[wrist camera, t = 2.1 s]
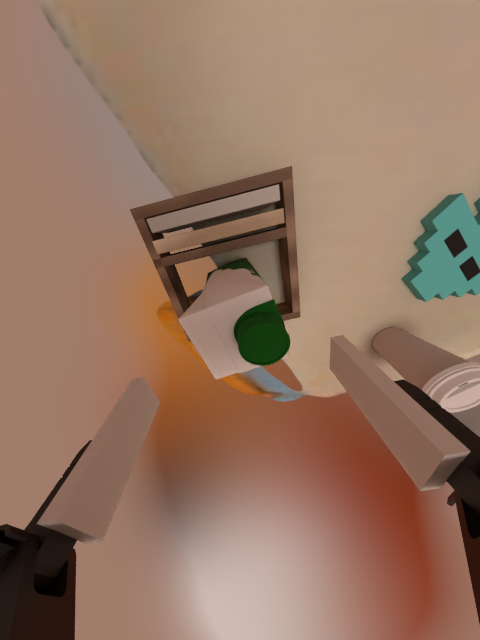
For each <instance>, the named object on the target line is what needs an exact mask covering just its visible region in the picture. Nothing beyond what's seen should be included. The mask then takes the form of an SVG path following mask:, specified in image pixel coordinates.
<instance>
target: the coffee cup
mask: <svg viewBox="0 0 480 640" xmlns="http://www.w3.org/2000/svg"><path fill="white" fill-rule="evenodd" d="M372 346H373V348H374V349H375V350H376V351H377V352H378V353H379V354H380V355H381V356H382V357H383V358H384V359H385V360H386V361H387V362H388V363H389V364H390V365H391V366H392V367H393V368H394V369H395V370H396V371H397V372H398V373H399V374H400V375H401V376H402V377H403V378H404V379H405V380H406V381H407V382H409V383H411V384H413V385H415V386H417V387H419V388H420V389H421V390H422V391H423V392H425V393H426V394H427V395H428V396H430V397H431V399H432V400H434V401H436V402H437V403H438V404H439V405H441V407H442V408H444V409H445V410H447V411H448V412H459V411H463V410H467V409H470V408H472V407H474V406H477V405H479V404H480V363H478V362H469V361H467V360H465V359H463V358H461V357H458V356H456V355H454V354H452V353H450V352H448V351H446V350H443V349H441V348H439V347H437V346H435V345H433V344H431V343H428V342H426V341H424V340H422V339H420V338H418V337H416V336H414V335H411V334H409V333H407V332H405V331H403V330H401V329H399V328H396V327H390V328H386V329H384V330H382V331H380V332H379V333H378V334H377V335H376V336H375V337H374V339H373V341H372Z"/></svg>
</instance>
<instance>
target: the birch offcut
mask: <svg viewBox="0 0 480 640" xmlns="http://www.w3.org/2000/svg"><path fill="white" fill-rule="evenodd" d="M281 223H285V221H284V209H283V208H281V209H277V210H273V211H270V212H266V213H262V214H258V215H254V216H250V217H246V218H242V219H238V220H234V221H230V222H226V223H223V224H219V225H215V226H211V227H207V228H203V229H199V230H195V231H191V232H187V233H183V234H180V235H175V236H172V237H168V238H164V239H160V240H156V241H152V242H153V245H154V247H155V249H156V252H157V254H161V253H165V252H169V251H173V250H177V249H181V248H185V247H189V246H193V245H197V244H201V243H205V242H209V241H213V240H217V239H221V238H225V237H229V236H233V235H237V234H241V233H245V232H249V231H253V230H257V229H261V228H265V227H269V226H273V225H277V224H281Z"/></svg>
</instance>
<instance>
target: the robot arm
mask: <svg viewBox="0 0 480 640" xmlns="http://www.w3.org/2000/svg"><path fill="white" fill-rule="evenodd" d="M330 369H331V371H332V372H333V373H334V375H335V376H336V377H337V379H338V380H339V381H340V383H341V384H342V386H343V387H344V388H345V390H346V391H347V392H348V393H349V395H350V396H351V398H352V399H353V400H354V402H355V403H356V404H357V406H358V407H359V408H360V410H361V411H362V412H363V414H364V415H365V417H366V418H367V419H368V421H369V422H370V423H371V425H372V426H373V427H374V429H375V430H376V431H377V433H378V434H379V435H380V437H381V438H382V440H383V441H384V442H385V444H386V445H387V446H388V448H389V449H390V450H391V452H392V453H393V454H394V456H395V457H396V459H397V460H398V461H399V463H400V464H401V465H402V467H403V468H404V469H405V471H406V472H407V473H408V475H409V476H410V477H411V479H412V480H413V481H414V483H415V484H416V486H417V487H418V488H419V490H420V491H424V490H430V489H436V488H441V487H442V486H443V485H444V484H445V482H446V481H447V482H448V483H449V484H450V485H451V486H452V488H453V489H454V492H453V493H452V494H451V495H450V496H449V497H448V501H447V504H448V505H450V506H453V505H454V504H455V503H456V506H457V511H458V517H459V522H460V527H461V532H462V537H463V542H464V547H465V552H466V557H467V562H468V567H469V572H470V577H471V582H472V587H473V593H474V598H475V603H476V608H477V613H478V618H479V623H480V437H479V436H477V435H476V434H475V433H474V432H472V431H471V430H470V429H469V428H467V427H466V426H465V425H464V424H463V423H461V422H460V421H459V420H458V419H457V418H455V417H454V416H453V415H451V414H450V413H449V412H448V411H447V410H445V409H444V408H442V407H441V405H439V404H438V403H437V402H436V401H434V400H432V399H431V397H430V396H428V395H427V394H426V393H425V392H423V391H422V390H421V389H420V388H419V387H417V386H415V385H413V384H411V383H409V382H407V381H405V380H399V381H393V380H391V379H390V378H389V377H388V376H387V375H386V374H385V373H384V372H383V371H382V370H380V369H379V368H378V367H377V366H376V365H375V364H374V363H373V362H372V361H371V360H369V359H368V358H367V357H366V356H365V355H364V354H363V353H362V352H361V351H359V350H358V349H357V348H356V347H355V346H354V345H353V344H352V343H351V342H350V341H348V340H347V339H346V338H345V337H344V336H343V335H341V336H336V337H332V338H331V348H330ZM159 404H160V402H159V400H158V398H157V397H156V395H155V394H154V393H153V391H152V390H151V388H150V387H149V385H148V384H147V382H146V381H145V379H144V378H143V377H141V378H136V379H133V380H132V381H131V383H130V384H129V386H128V387H127V389H126V390H125V392H124V393H123V395H122V396H121V398H120V399H119V401H118V402H117V404H116V405H115V407H114V408H113V410H112V411H111V413H110V414H109V416H108V417H107V419H106V420H105V422H104V423H103V425H102V426H101V428H100V429H99V431H98V433H97V434H96V435H95V437H94V438H93V440H90V441H89V442H88V443H87V444H86V445H85V446H84V447H83V448H82V449H81V450H80V451H79V453H78V454H77V455H76V457H75V458H74V460H73V461H72V463H71V464H70V467H68V469H67V470H66V471H65V473H64V474H63V477H62V478H61V479H60V480H59V482H58V483H57V484H56V486H55V487H54V489H53V490H52V492H51V493H50V495H49V496H48V497H47V499H46V500H45V502H44V503H43V504H42V506H41V507H40V509H39V510H38V512H37V513H36V515H35V516H34V518H33V519H32V521H31V522H30V523H29V525H28V526H27V527H26V528H25V530H22V529H19V528H16V527H13V526H10V525H8V524H5V525H2V526H0V640H74V639H75V638H74V637H75V585H76V552H75V549H73V547H74V545H75V543H76V541H77V540H79V541H81V542H83V543H93V542H99V541H103V539H104V537H105V534H106V532H107V529H108V527H109V525H110V522H111V520H112V517H113V515H114V512H115V510H116V508H117V505H118V503H119V500H120V498H121V496H122V493H123V491H124V488H125V486H126V483H127V481H128V479H129V476H130V474H131V471H132V469H133V467H134V464H135V462H136V459H137V457H138V454H139V452H140V450H141V447H142V445H143V442H144V440H145V438H146V435H147V433H148V430H149V428H150V425H151V423H152V421H153V418H154V416H155V413H156V411H157V409H158V406H159Z"/></svg>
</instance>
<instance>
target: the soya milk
mask: <svg viewBox="0 0 480 640" xmlns="http://www.w3.org/2000/svg"><path fill="white" fill-rule="evenodd" d="M178 321H179V323H180V324H181V326H182V327H183V329H184V330H185V332H186V334H187V335H188V337H189V338H190V340H191V341H192V343H193V345H194V346H195V348H196V349H197V351H198V352H199V354H200V355H201V357H202V359H203V360H204V362H205V363H206V365H207V366H208V368H209V370H210V371H211V373H212V374H213V376H214V377H215V379H219V378H222V377H225V376H228V375H231V374H235V373H238V372H239V373H243V372H246V371H249V370H250V369H253V368H256V367H259V366H264V365H270V364H273V363H275V362H277V361H279V360H280V359H283V358H286V357H289V355H290V354H289V351H288V350H289V347H290V338H289V335H288V333H287V331H286V329H285V325H284V321H283V319H282V316H281V314H280V313H279V311H278V310H277V307H276V304H275V301H274V299H272V295H271V292H270V289H269V286H268V285H266V284H265V283H264V282H263V280H262V279H261V277H260V276H259V274H258V273H257V271H256V270H255V269H254V267H253V266H252V265H251V264H250V262H249V261H248V260H247V259H246V258H244V259H241V260H238V261H235V262H233V263H230V264H227V265H225V266H222V267H220V268H217V269H215V270H213V271H212V272H209V273H208V276H207V281H206V285H205V287H204V289H203V291H202V294H201V295H200V296H199V297H198V298H197V299H196V300H195V302H194V303H193V304H192V305H191V306H190V307H189V308H188V309H187V310H186V311H185V312H184V314H183V315H182V316H181V317H180V318H179V319H178Z"/></svg>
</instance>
